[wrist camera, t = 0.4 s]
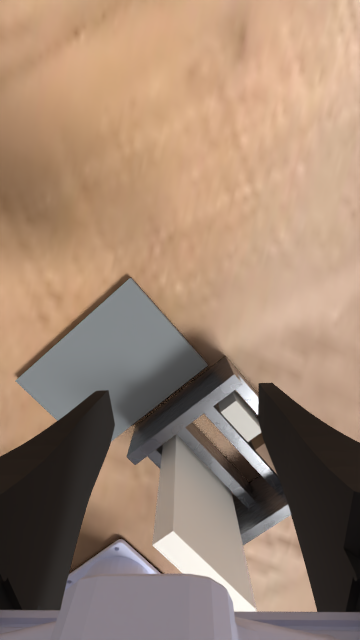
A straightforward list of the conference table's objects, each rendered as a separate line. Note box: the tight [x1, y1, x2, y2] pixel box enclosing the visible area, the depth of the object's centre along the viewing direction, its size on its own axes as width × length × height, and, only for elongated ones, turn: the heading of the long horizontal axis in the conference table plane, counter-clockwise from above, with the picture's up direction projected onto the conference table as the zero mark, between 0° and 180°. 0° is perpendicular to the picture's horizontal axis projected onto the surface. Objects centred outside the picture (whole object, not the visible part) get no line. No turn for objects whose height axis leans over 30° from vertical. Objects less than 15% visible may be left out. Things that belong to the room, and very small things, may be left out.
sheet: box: [152, 434, 257, 612], centre depth 21 cm, size 2×8×10 cm, turn 40°
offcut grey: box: [218, 390, 261, 442], centre depth 23 cm, size 2×4×3 cm, turn 41°
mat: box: [16, 278, 208, 441], centre depth 23 cm, size 14×10×1 cm
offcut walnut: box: [251, 433, 277, 474], centre depth 24 cm, size 2×4×3 cm, turn 40°
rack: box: [127, 356, 291, 545], centre depth 23 cm, size 11×13×4 cm
